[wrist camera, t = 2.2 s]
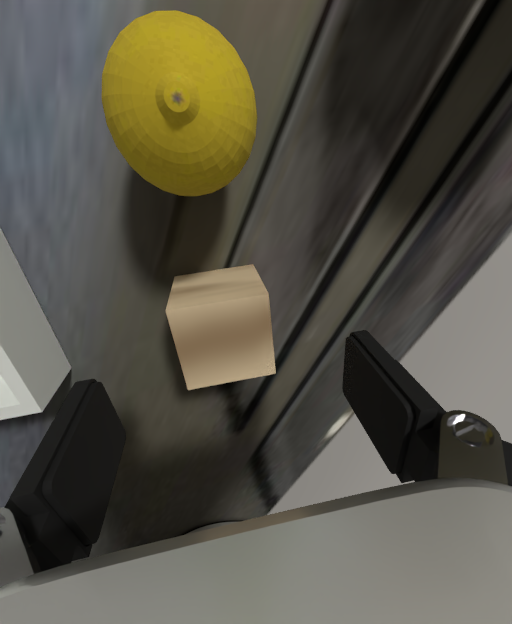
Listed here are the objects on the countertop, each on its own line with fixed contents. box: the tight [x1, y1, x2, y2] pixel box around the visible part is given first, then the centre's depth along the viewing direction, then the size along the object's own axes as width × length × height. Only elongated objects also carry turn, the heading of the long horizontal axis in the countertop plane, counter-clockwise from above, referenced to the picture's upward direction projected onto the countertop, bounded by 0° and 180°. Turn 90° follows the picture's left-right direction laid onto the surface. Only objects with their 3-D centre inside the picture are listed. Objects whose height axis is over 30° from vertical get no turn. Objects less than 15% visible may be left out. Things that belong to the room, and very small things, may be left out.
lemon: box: [102, 11, 257, 196], centre depth 11 cm, size 6×6×8 cm
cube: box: [166, 265, 276, 390], centre depth 17 cm, size 5×5×5 cm
